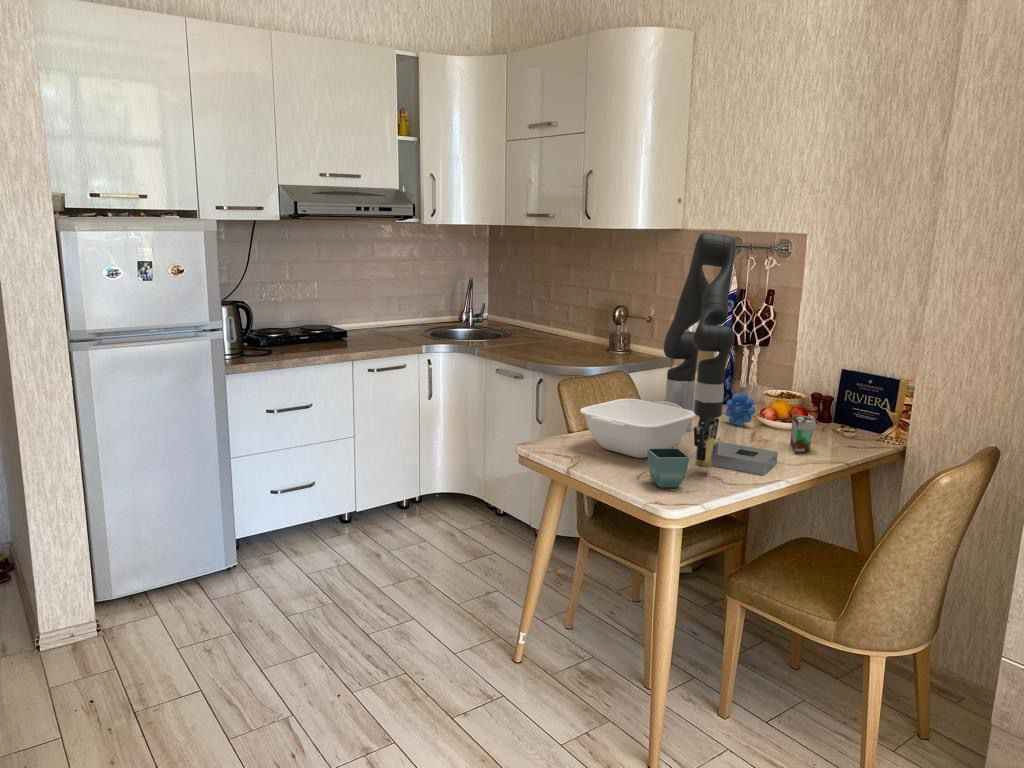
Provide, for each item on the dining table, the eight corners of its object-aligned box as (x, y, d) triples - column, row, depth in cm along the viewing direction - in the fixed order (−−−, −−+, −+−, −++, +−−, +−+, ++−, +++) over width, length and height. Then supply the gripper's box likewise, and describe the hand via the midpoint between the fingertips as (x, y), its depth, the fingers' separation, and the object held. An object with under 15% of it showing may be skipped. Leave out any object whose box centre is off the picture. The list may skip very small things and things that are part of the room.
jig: (700, 463, 226) (702, 443, 225) (716, 452, 238) (718, 433, 236) (763, 475, 216) (765, 454, 215) (776, 463, 228) (778, 443, 227)
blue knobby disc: (760, 427, 268) (763, 393, 265) (749, 430, 264) (752, 396, 261) (732, 420, 277) (734, 387, 274) (720, 423, 272) (723, 389, 270)
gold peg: (693, 465, 216) (695, 437, 214) (698, 461, 219) (700, 434, 218) (708, 468, 213) (710, 440, 212) (713, 464, 217) (716, 437, 215)
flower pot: (675, 479, 212) (678, 447, 210) (688, 490, 203) (690, 457, 201) (644, 480, 210) (646, 448, 209) (655, 491, 202) (657, 458, 200)
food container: (816, 456, 236) (820, 424, 234) (795, 455, 237) (798, 423, 235) (809, 445, 247) (813, 415, 245) (789, 444, 249) (792, 413, 247)
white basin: (631, 431, 260) (633, 394, 257) (706, 450, 240) (709, 410, 238) (563, 450, 236) (565, 409, 233) (640, 473, 216) (643, 429, 214)
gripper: (704, 391, 220) (699, 449, 224) (686, 400, 208) (681, 461, 212) (730, 395, 216) (725, 454, 220) (713, 405, 204) (708, 467, 208)
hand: (704, 457), depth 216 cm, fingers closed on gold peg, 4 cm apart
